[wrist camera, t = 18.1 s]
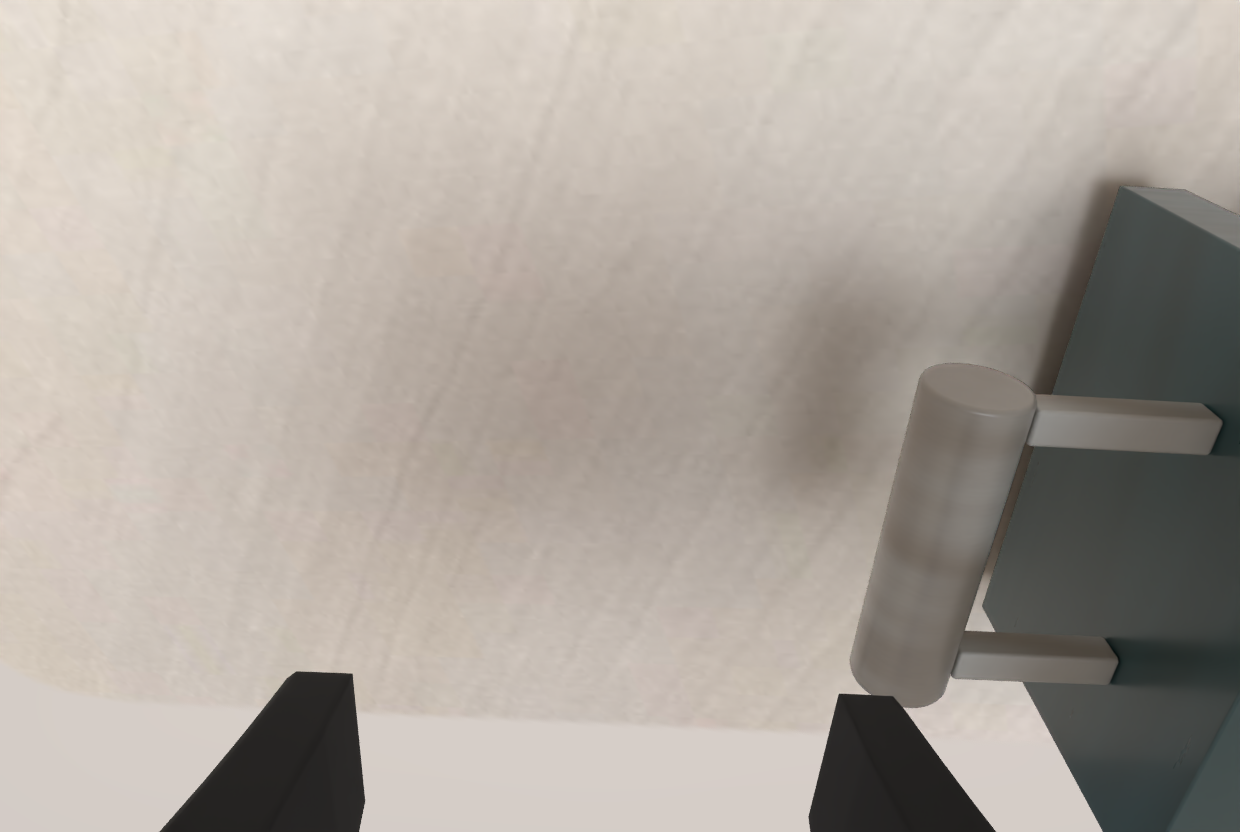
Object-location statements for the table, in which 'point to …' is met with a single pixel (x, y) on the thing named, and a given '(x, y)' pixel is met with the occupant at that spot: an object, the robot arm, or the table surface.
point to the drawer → (1091, 529)
